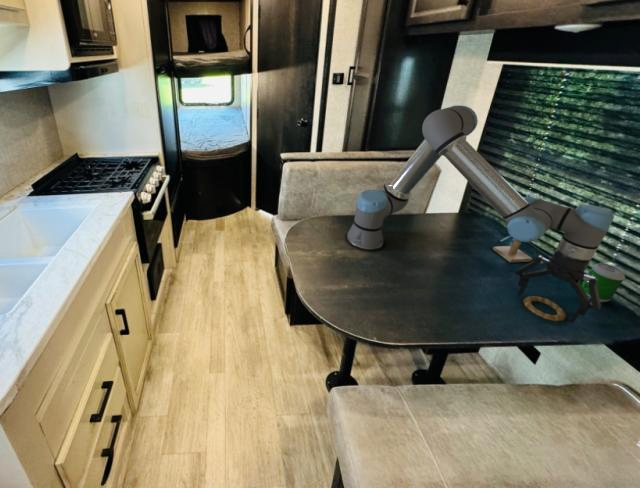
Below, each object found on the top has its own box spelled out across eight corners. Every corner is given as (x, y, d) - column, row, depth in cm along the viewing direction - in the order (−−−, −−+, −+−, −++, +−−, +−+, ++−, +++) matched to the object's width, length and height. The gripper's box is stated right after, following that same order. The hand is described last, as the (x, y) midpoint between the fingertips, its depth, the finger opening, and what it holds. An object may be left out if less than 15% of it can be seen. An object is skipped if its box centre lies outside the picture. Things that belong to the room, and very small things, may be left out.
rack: (492, 249, 135) (503, 222, 130) (512, 248, 136) (523, 221, 130) (510, 262, 127) (522, 234, 121) (531, 261, 128) (544, 233, 122)
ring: (514, 299, 109) (516, 295, 108) (542, 298, 109) (544, 293, 109) (542, 324, 99) (545, 319, 99) (573, 322, 100) (576, 317, 99)
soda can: (612, 298, 109) (630, 271, 104) (604, 306, 106) (622, 279, 101) (582, 285, 115) (598, 259, 110) (574, 292, 112) (590, 266, 106)
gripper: (518, 238, 102) (496, 288, 111) (632, 282, 83) (595, 338, 92) (526, 231, 106) (504, 280, 115) (638, 271, 87) (601, 326, 96)
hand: (545, 306), depth 104 cm, fingers open, 13 cm apart
